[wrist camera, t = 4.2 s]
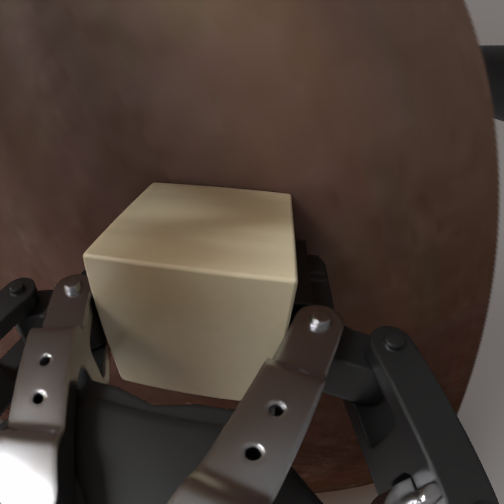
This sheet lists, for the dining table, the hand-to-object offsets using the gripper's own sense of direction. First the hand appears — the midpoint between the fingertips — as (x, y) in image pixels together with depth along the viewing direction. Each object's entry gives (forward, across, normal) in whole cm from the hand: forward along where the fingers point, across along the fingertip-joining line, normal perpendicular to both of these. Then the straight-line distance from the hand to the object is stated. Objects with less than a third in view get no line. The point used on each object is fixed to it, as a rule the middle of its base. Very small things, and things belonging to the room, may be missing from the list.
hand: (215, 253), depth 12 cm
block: (0, 0, 0) cm, 0 cm away
